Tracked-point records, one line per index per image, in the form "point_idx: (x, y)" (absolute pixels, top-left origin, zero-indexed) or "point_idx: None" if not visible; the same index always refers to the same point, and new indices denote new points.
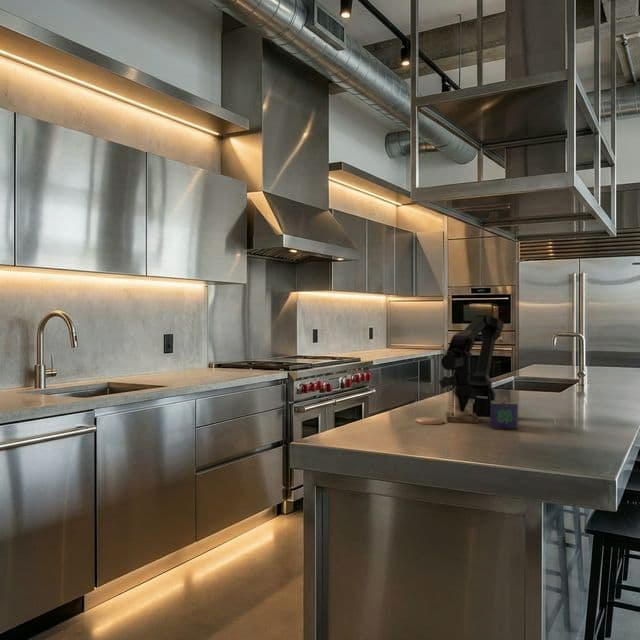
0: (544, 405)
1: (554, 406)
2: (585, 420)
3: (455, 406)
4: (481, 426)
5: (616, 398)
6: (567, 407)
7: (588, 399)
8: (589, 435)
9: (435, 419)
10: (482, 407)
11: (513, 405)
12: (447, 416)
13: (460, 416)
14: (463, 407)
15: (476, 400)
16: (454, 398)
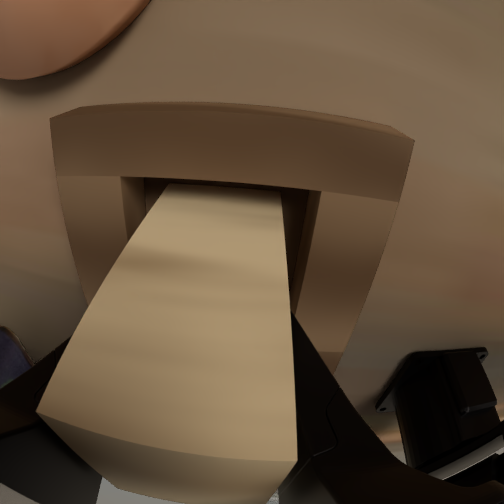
0: (493, 453)
1: (473, 464)
2: (278, 499)
3: (111, 278)
4: (29, 309)
5: None
6: (452, 475)
7: None
8: None
9: (49, 4)
10: (408, 425)
11: None
12: (63, 120)
13: (105, 251)
14: None
15: (453, 442)
16: (246, 393)
